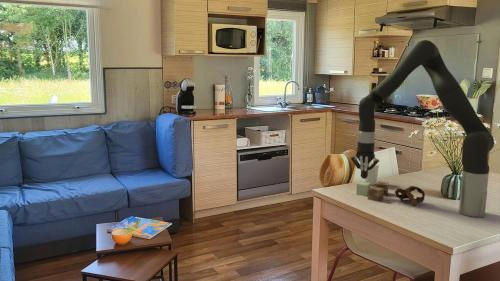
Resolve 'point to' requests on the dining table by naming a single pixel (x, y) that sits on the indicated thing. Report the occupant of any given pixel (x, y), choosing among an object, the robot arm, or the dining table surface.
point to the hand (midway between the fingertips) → (364, 178)
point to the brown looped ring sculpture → (410, 195)
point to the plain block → (363, 188)
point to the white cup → (372, 174)
